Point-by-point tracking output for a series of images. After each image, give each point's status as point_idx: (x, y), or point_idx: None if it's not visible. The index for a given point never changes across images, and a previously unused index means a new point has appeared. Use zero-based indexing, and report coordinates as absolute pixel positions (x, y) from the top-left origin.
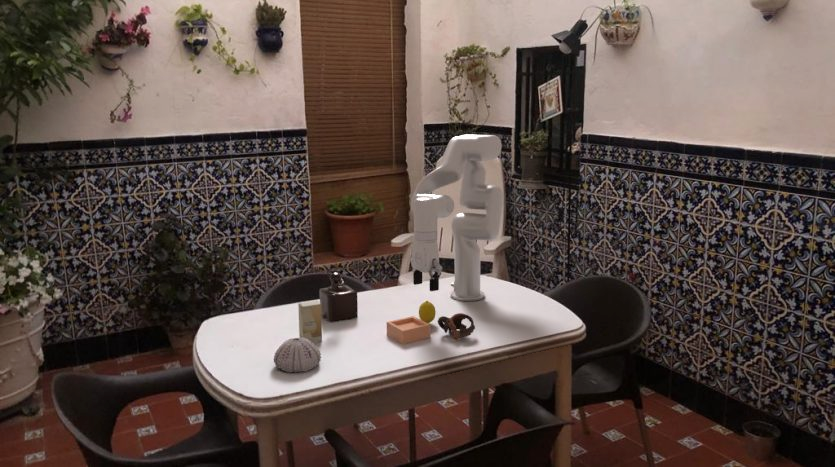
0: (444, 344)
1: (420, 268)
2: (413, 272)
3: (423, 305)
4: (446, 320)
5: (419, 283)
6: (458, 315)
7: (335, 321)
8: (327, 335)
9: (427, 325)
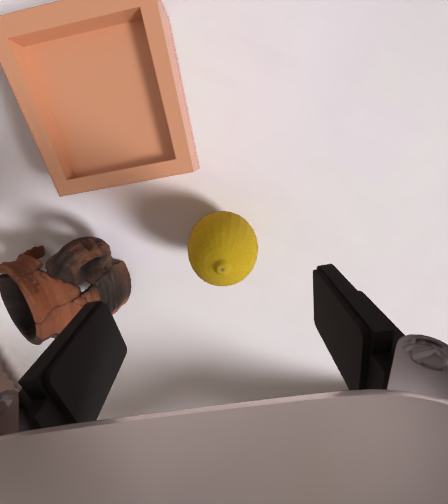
0: (14, 205)
1: (73, 480)
2: (406, 336)
3: (209, 240)
4: (53, 264)
5: (315, 305)
6: (35, 314)
7: None
8: None
9: (54, 182)
